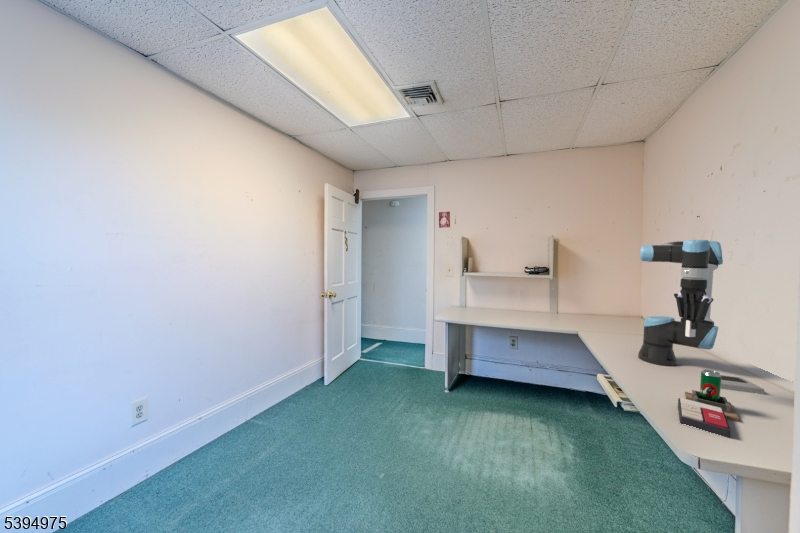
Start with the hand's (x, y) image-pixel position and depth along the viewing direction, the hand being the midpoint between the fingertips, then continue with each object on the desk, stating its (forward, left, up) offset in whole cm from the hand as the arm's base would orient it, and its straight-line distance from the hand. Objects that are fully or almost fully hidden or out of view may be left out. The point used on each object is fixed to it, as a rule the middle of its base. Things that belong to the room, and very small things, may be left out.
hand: (690, 336), depth 118 cm
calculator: (+28, +2, -23) cm, 36 cm away
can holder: (+13, +5, -22) cm, 26 cm away
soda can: (+12, +5, -22) cm, 25 cm away
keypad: (-19, +15, -23) cm, 33 cm away
